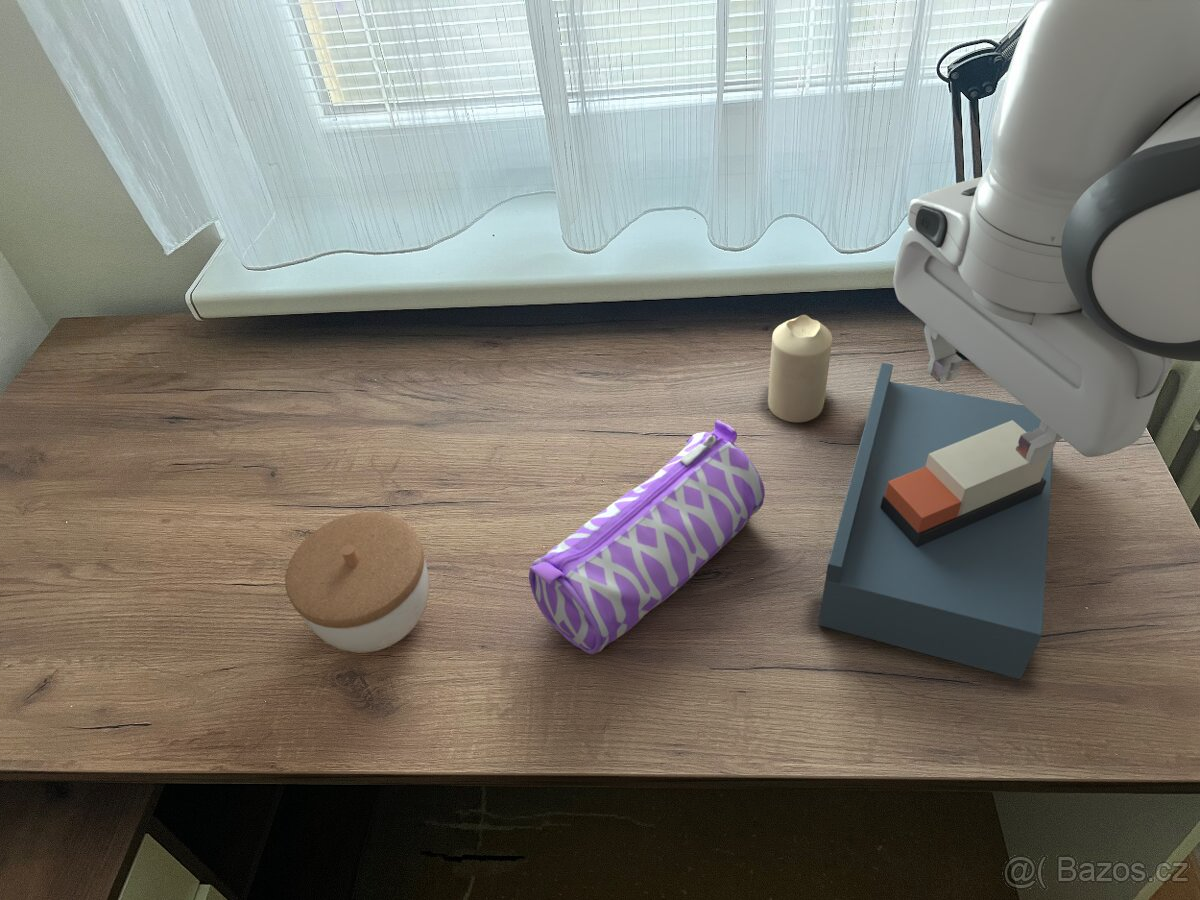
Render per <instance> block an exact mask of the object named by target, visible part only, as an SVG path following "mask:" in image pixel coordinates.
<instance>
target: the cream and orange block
mask: <svg viewBox="0 0 1200 900" xmlns="http://www.w3.org/2000/svg"><path fill="white" fill-rule="evenodd" d="M1024 433H1027V432H1026V431H1025V430H1023V429H1022V428H1021V427H1020V426H1019V425H1018V424H1016V423H1015V422H1014V421H1013V420H1012V421H1009V422H1007V423H1004V424H1002V425H999V426H997V427H994V428H992V429H989V430H987V431H984V432H982V433H979V434H977V435H974V436H972V437H969V438H967V439H964V440H962V441H960V442H957V443H955V444H952V445H950V446H947V447H945V448H942V449H940V450H937V451H935V452H932V453H930V454H929V455H928V459H927V463H926V467H923V468H921V469H918V470H916V471H913V472H911V473H908V474H906V475H903V476H901V477H899V478H896V479H894V480H891V481H889V482H888V484H887V489H886V493H885V495H883V498H882V502H881V507H880V508H881V509H882V510H883V511H884V512H885V513H886V514H887V516H888V517H889V518H890V519H891V520H892V521H893V522H894V523H895V524H896V525H897V527H898V528H899V529H900V530H901V531H902V532H903V533H904V534H905V535H906V537H907V538H908V539H909V540H910V541H911V542H912V543H913V544H914V545H915V546H916V547H919V546H921V545H924V544H926V543H928V542H931V541H933V540H935V539H938V538H940V537H942V536H945V535H947V534H949V533H952V532H954V531H956V530H959V529H961V528H963V527H966V526H968V525H970V524H973V523H975V522H977V521H980V520H982V519H984V518H987V517H989V516H991V515H994V514H996V513H998V512H1001V511H1003V510H1005V509H1008V508H1010V507H1012V506H1015V505H1017V504H1019V503H1022V502H1024V501H1026V500H1029V499H1031V498H1033V497H1036V496H1038V495H1040V494H1042V492H1043V490H1044V487H1045V485H1046V482H1047V481H1046V480H1045V479H1044V478H1042V476H1043V473H1044V471H1045V468H1046V466H1047V463H1048V461H1049V458H1050V456H1051V455H1050V456H1049V457H1048V458H1047V459H1045V460H1043V461H1041V462H1038V463H1036V464H1033V465H1032V464H1030V463H1029V462H1028V461H1026V460H1025V459H1024V458H1023V457H1022V456H1021V455H1020V454H1019V453H1018V452H1017V451H1016V446H1018V445H1019V443H1018V441H1019V438H1020V436H1021V435H1022V434H1024Z"/></svg>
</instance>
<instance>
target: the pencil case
mask: <svg viewBox="0 0 1200 900" xmlns="http://www.w3.org/2000/svg"><path fill="white" fill-rule="evenodd" d="M737 439H738V432H737V431H736V430H735V429H734V428H733V427H732V426H730V425H729V424H727V423H725V422H723V421H721V420H720V419H716V420H714V428H713V430H712V431H711V432H708V431H702V432H697V433H695V434H693V435H691V436H690V437H689V438H688V439H687V440H686V444H685V447H683V448H682V450H681V451H679V453H677V454H676V455H675V456H674V457H672V458H671V459H670V460H669V461H668V462H667V463H666V464H665V465H663V467H661V468H660V469H659V470H658V471H657V472H656V473H654V474H653V475H652V476H650V477H649V478H648V479H646V480H645V481H644V482H643V483H641V484H640V485H638V486H636V487H635V488H633V489H631V490H629V491H628V492H626V493H624V494H623V495H622V496H620V497H619V498H618V499H617V500H615V501H614V502H613V503H611V504H609V505H608V506H607V507H605V508H604V509H603V510H602V511H600V512H598V513H597V514H596V515H594V516H593V517H592V518H591V519H589V520H588V521H587V522H586V523H584V524H583V525H582V526H581V527H579V528H578V529H577V530H576V531H574V532H573V533H571V534H570V535H569V536H567V537H566V538H565V539H563V541H561V542H559V543H558V544H557V545H555V546H553V547H552V548H551V549H550V550H549V551H548V552H547V553H546V554H545V555H543V556H541V557H539V558H537V559H535V560H534V561H533V562H532V564H531V565H530V567H529V573H528V580H529V581H528V582H529V586H530V589H531V593H532V595H533V598H534V600H535V603H536V605H537V607H538V608H539V611H540V612H541V613H542V615H543V616H544V618H545V619H546V621H547V622H548V623H549V624H550V625H551V626H552V627H553V628H554V629H555V630H556V631H558V633H560V634H561V635H562V637H563V638H565V639H566V640H567V641H568V642H569V643H571V644H572V645H573V646H575V647H577V648H578V649H581V650H582V651H583V652H584V653H586V654H588V655H594V654H597V653H600V652H601V651H603V649H604V648H605V647H606V646H608V645H609V644H611V643H612V642H615V641H617V639H618V638H619V637H621V636H623V635H624V634H626V633H627V632H628V631H630V630H631V629H632V628H633V627H634V626H636V624H638V623H639V622H640V621H641V620H642V619H643V617H644V616H646V615H647V614H648V613H649V612H650V611H651V610H653V609H654V608H657V606H659V605H660V604H662V603H663V602H665V601H666V600H667V599H668V598H669V597H671V596H672V595H673V594H674V593H675V592H677V591H678V590H679V589H680V588H681V587H683V586H684V584H686V583H687V582H688V581H689V580H690V579H691V578H692V577H693V576H694V575H695V574H696V573H697V572H698V571H699V569H701V568H702V567H703V566H704V565H706V563H707V562H708V561H710V560H711V559H712V558H713V557H714V556H715V555H716V554H717V553H718V552H719V551H720V550H721V549H722V548H723V547H724V546H725V545H727V544H728V543H729V542H730V541H731V540H732V539H733V538H734V537H735V536H737V534H739V532H740V531H741V530H742V529H743V528H744V527H745V526H746V524H747V523H748V522H749V521H750V519H751V517H752V516H754V515H755V514H756V513H757V512H758V511H759V510H760V509H761V508H762V506H763V504H764V502H765V494H766V493H765V492H766V490H765V486H764V482H763V479H762V477H761V476H760V473H759V471H758V469H757V468H756V466H755V465H754V463H753V462H752V461H751V459H750V457H749V456H748V455H747V454H746V452H745V451H743V450H742V449H741V448H740V447H739V446H737V445H735V442H736V441H737Z"/></svg>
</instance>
